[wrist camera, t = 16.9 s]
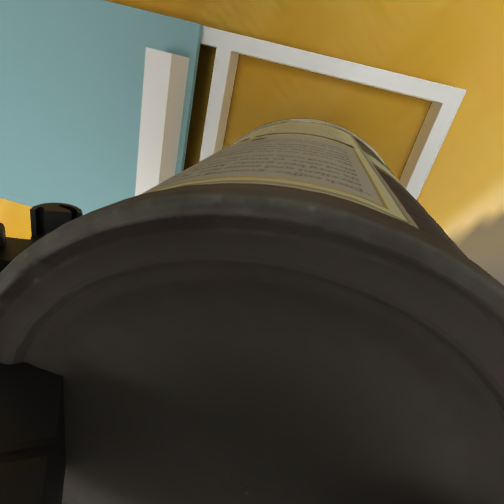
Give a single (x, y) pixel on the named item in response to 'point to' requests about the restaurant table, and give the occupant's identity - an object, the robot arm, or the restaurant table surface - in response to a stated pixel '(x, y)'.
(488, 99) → the restaurant table surface
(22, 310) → the coffee can
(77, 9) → the cover
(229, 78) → the sliding panel frame
